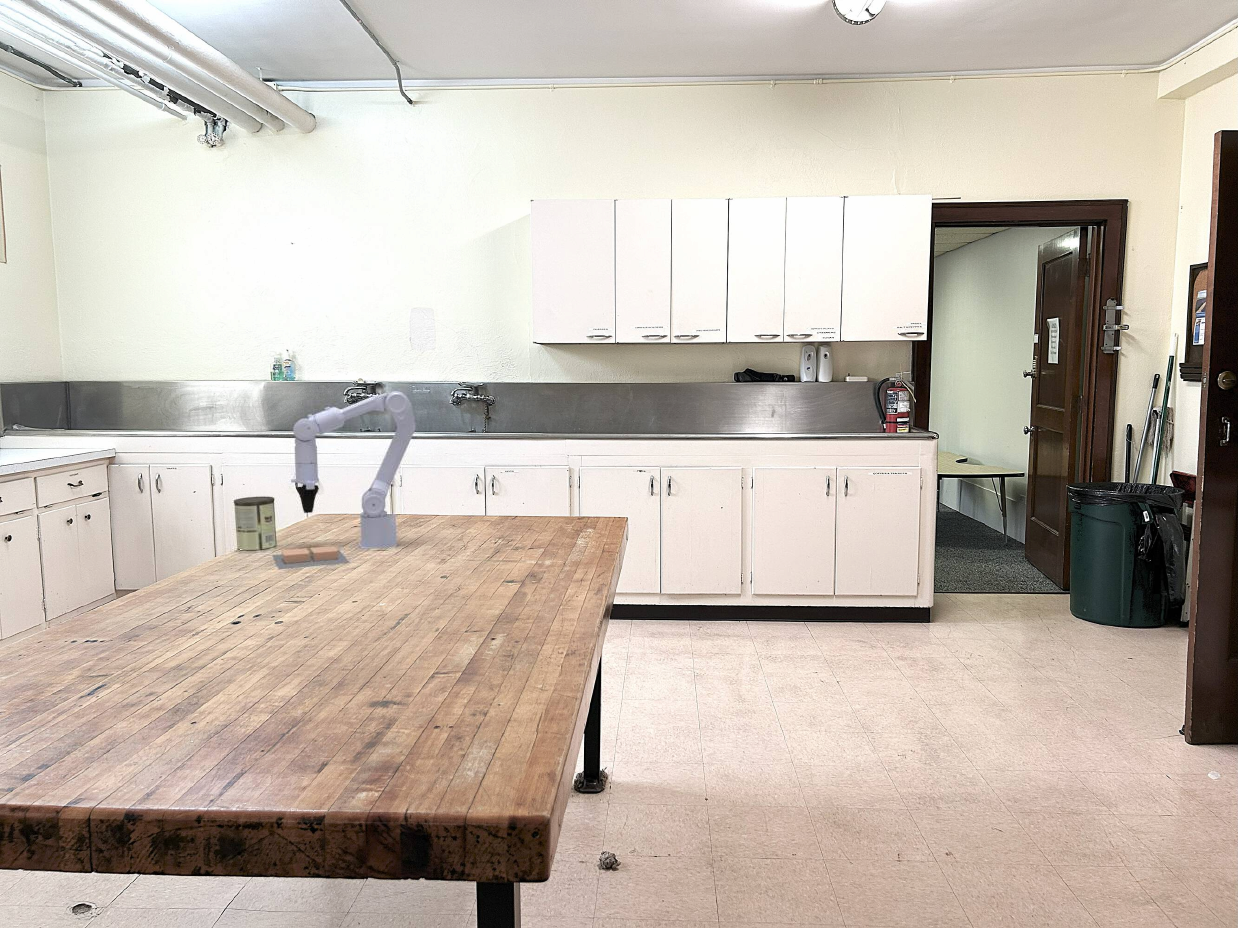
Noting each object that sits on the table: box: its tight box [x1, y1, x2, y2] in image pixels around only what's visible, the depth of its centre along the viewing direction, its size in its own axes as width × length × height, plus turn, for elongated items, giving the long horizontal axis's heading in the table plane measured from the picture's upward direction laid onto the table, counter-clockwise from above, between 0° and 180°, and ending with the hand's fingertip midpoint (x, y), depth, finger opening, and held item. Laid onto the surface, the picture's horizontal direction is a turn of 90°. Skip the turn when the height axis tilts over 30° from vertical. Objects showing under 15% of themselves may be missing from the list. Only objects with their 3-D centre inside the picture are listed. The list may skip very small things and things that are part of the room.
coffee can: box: [233, 495, 278, 554], centre depth 241 cm, size 10×10×14 cm
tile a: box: [309, 545, 339, 561], centre depth 231 cm, size 2×6×7 cm
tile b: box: [281, 547, 310, 564], centre depth 228 cm, size 2×6×7 cm
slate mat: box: [271, 549, 351, 570], centre depth 229 cm, size 17×18×1 cm
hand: (308, 512), depth 241 cm, fingers closed
